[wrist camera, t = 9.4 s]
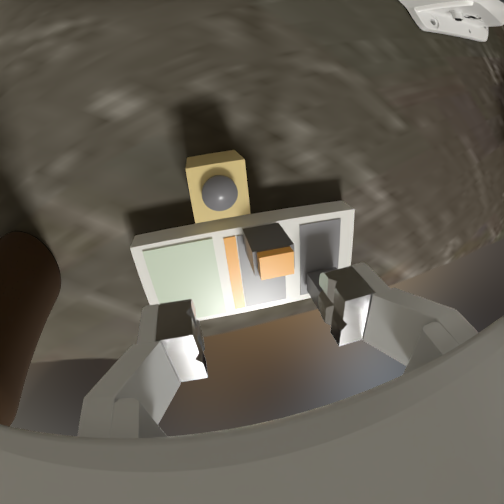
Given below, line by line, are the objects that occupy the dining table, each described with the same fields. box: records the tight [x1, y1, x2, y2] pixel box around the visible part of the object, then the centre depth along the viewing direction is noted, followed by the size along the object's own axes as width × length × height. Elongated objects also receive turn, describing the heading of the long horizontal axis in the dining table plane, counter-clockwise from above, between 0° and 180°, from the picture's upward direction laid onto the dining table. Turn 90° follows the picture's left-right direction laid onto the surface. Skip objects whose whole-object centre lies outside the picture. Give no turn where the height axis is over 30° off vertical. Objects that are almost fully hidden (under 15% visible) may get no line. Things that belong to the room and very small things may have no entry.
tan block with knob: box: [186, 150, 251, 223], centre depth 21 cm, size 4×4×6 cm
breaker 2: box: [307, 267, 337, 311], centre depth 25 cm, size 3×2×4 cm, turn 95°
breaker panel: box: [130, 201, 355, 321], centre depth 27 cm, size 20×9×3 cm, turn 95°
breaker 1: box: [242, 223, 295, 280], centre depth 21 cm, size 3×2×5 cm, turn 95°
